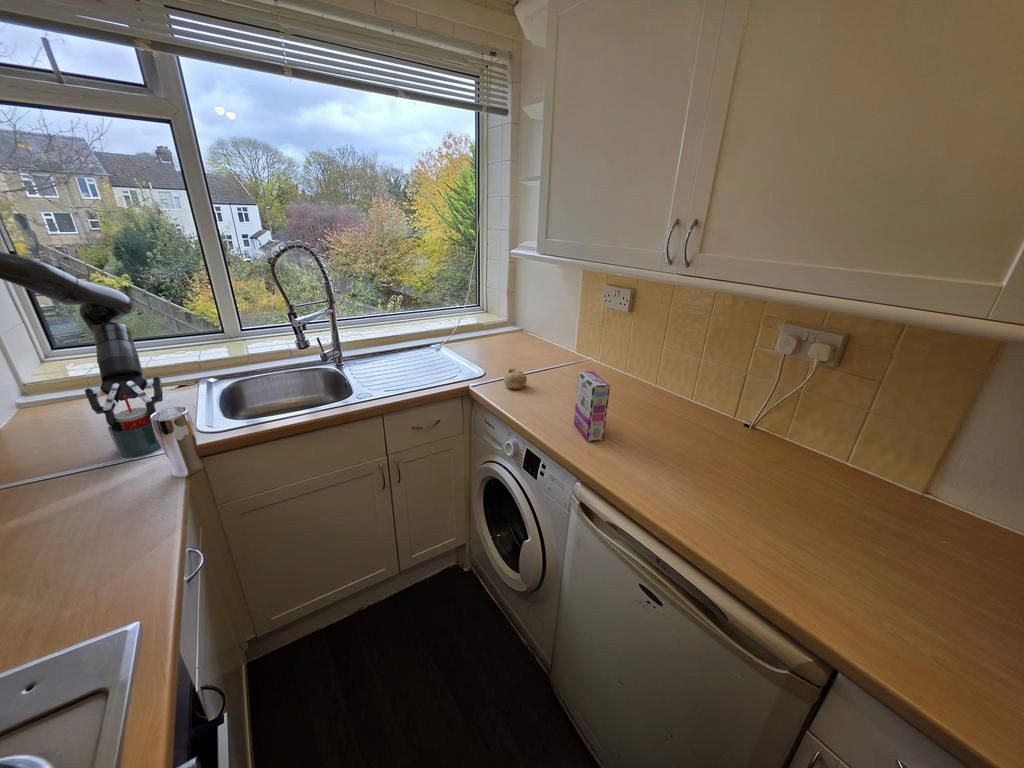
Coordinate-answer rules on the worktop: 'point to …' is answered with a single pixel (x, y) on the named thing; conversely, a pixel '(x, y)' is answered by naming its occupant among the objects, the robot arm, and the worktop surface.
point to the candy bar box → (591, 406)
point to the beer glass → (177, 440)
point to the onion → (515, 379)
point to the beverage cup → (132, 417)
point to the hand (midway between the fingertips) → (133, 421)
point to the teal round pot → (134, 440)
